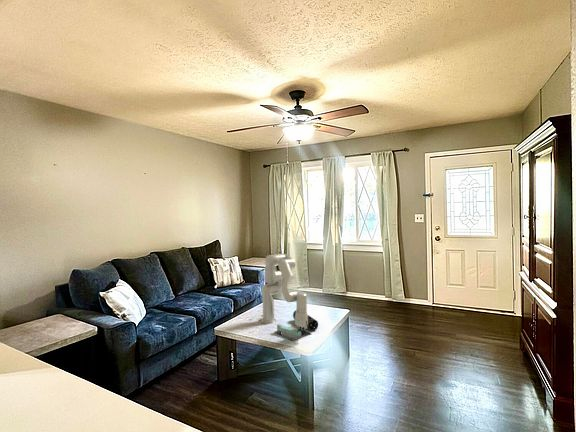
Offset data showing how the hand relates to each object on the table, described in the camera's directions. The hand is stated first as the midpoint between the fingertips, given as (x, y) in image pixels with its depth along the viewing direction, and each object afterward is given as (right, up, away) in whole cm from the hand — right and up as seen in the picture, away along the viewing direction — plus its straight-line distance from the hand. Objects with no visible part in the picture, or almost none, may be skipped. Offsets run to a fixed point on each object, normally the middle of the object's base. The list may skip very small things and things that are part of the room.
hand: (301, 334), depth 230 cm
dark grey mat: (-7, -2, +7) cm, 10 cm away
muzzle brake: (+3, -2, +23) cm, 24 cm away
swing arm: (-9, -1, +3) cm, 10 cm away
